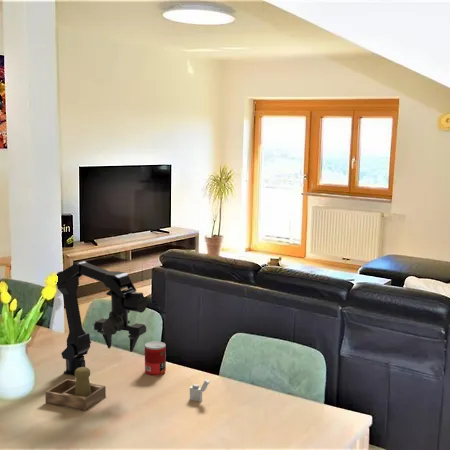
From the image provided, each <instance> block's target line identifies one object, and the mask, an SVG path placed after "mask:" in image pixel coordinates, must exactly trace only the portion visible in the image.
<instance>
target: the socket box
mask: <svg viewBox="0 0 450 450" xmlns="http://www.w3.org/2000/svg"><path fill="white" fill-rule="evenodd" d="M75 387H76V379H75V380H74V379H71V378H65V379H64V380H62V381H60V382H59V383H57V384H56V385H54V386H52V387H51V388H49V389H47V390H46V391H44V392H45V394H44V395H45V403H46V404H48V405H53V406H59V407H61V408H62V407H63V408H68V409H72V410H78V411H82V412H87V411H88V410H89V409H91V408H92V407H94V406H95V405H96V404H98V403H99V402H101V401H102V400H104V399H105V398H107V397H106V394H107V393H106V392H107V390H106V388H107V387H106V385H102V384H96V383H90V388H91V394H90V395H89V396H87V397H82V396H77V395H75Z"/></svg>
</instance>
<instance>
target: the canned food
mask: <svg viewBox="0 0 450 450" xmlns="http://www.w3.org/2000/svg"><path fill="white" fill-rule="evenodd" d="M166 347H167V346H166V343H165V342H162V341H156V340H155V341H148V342H146V343H145V344H144V372H145V374H146V375H149V376H155V377H157V376H161V375H164V374H165V373H166V370H167V367H166V365H167V362H166V361H167V359H166V357H167V354H166V353H167V351H166V349H167V348H166Z"/></svg>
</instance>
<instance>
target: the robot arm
mask: <svg viewBox="0 0 450 450" xmlns="http://www.w3.org/2000/svg"><path fill="white" fill-rule="evenodd" d="M56 275H57V276H58V282H57V284H56V283H55V284H56V287H57V289H58V291H59V292H60V293H61V294H62V296H63V297H62V298H63V303H64V309H65V315H66V321H67V326H68V327H67V328H68V335H67V339H66V348H65V349H63V350H62V352H61V357H62V359H64V360H65V368H66V370H64V371H63V374H66V375H70V376H71V375H72V376H75V370H76V369H77V368H80V367H86V359H85V355H88V351H89V350H90V348H91V344H92V341H91V338H90V333H89V332H86V331H85V330H84V328H83V323H82V317H81V312H80V306H79V300H78V295H77V292H78V288H79V285H80V278H81V277H82V276H83V277H84V276H85V277H87V278H90V279H93V280H96V281H98V282H100V283H102V284H103V285H104V286H105V288H108V289H109V290H108V291H107V292H105V294H106V296H111V298H110V299H111V301H110V302H111V303H110V304H111V311H109V314H108V318H104V317H103V318H102V317H101V318H100V319H99V320H96V321H95V322H94V324H93V330H95V331H96V332H97V333H99V334H100V335H102V337H103V339H104V342H105V345H106V347H107V349H111V347H112V339H113V337H112V336H113V335H115V334H117V332H121V331H127V332H128V334H129V335H127V337H128V338H129V352H130V353H132V352H133V351H134V349H135V346H136V345H137V341H138V340H139V337H140V336H141V335H143V334H145V333H147V326H146V325H145V324H143V323H137V322H136V323H134V324H132V325H129V324H131V323H130V322H131V321H130V320H129V315H128V314H130V311H131V312H136V313H139V314H140V313H141V314H142V313H144V312H145V311H146V309H147V306H148V301H147V298H146V296H144V292H137V289H136V287H135V286H134V285H135V284H133V282H132V280H131V279H130V277H129V274H128V272H127V273H126V272H124V271H119V270H118V271H115V270H114V271H113V270H112V271H111V270H107V269H104V268H101V267H99V266H96V265H94V264H91V263H90V262H87V261H85V260H80V261H78V262H74V263H73V264H72V265H70V266H69V267H67V268H65V269H64V270H61V271H57V273H56V274H55V276H56Z"/></svg>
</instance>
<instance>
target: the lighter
mask: <svg viewBox="0 0 450 450" xmlns="http://www.w3.org/2000/svg"><path fill="white" fill-rule="evenodd" d="M210 382H211V380H210V379H209V378H206V379H205V380H204V381H203V384H202V385H201V387H200V384H195V383H194V384H192V385H191V386H190V387H189V401H195V402H202V401H203V393H204V392H206V391H207V388H208V386H209V384H210Z"/></svg>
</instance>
